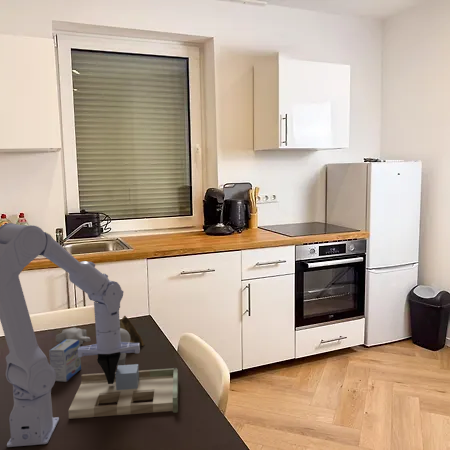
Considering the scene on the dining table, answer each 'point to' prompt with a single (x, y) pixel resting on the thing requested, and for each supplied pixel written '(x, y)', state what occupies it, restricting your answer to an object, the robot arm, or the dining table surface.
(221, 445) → the dining table surface
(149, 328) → the dining table surface
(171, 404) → the tray
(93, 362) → the dining table surface
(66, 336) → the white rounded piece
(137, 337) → the rock
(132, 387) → the slate block
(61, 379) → the medicine box
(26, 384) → the robot arm
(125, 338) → the lightbulb
